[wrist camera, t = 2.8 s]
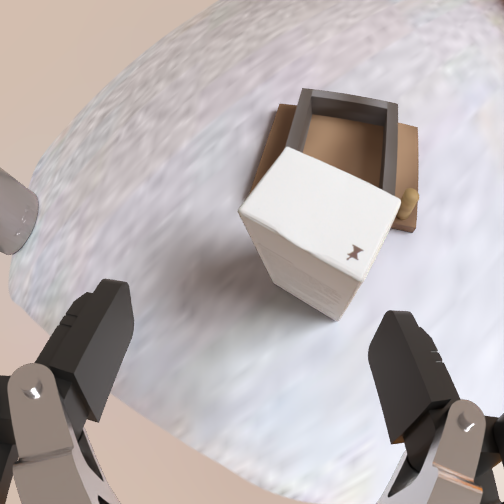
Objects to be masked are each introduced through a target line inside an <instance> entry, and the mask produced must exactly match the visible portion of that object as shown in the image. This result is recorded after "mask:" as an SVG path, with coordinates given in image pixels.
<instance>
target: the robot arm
mask: <svg viewBox="0 0 504 504" xmlns="http://www.w3.org/2000/svg"><path fill="white" fill-rule="evenodd" d="M37 214H38V199H37V196H36V195H35V194H34V193H33V192H32V191H30V190H29V189H28V188H26V187H25V186H24V185H22V184H21V183H20V182H18V181H17V180H16V179H15V178H13V177H12V176H10V175H9V174H8V173H7V172H5V171H4V170H3V169H1V168H0V252H2V253H4V254H6V255H11V254H14V253H15V252H17V251H18V250H19V249H20V248H21V247H22V246H23V245H24V243H25V242H26V241H27V239H28V237H29V236H30V234H31V232H32V229H33V227H34V224H35V222H36V218H37ZM133 330H134V317H133V311H132V304H131V297H130V289H129V285H128V283H127V282H123V281H117V280H111V279H103V280H102V281H101V282H100V283H99V285H98V286H97V288H96V289H95V291H94V292H93V293H89V292H86V293H85V294H84V295H82V296H81V297H79V298H78V299H77V300H75V301H74V302H73V304H72V305H71V307H70V308H69V310H68V311H67V313H66V316H64V317H63V319H62V320H61V322H60V325H59V326H57V328H56V329H55V331H54V332H53V334H52V336H51V337H50V339H49V340H48V342H47V343H46V345H45V347H44V349H43V350H42V352H41V353H40V355H39V357H38V358H37V360H36V361H35V363H30V364H26V365H23V366H21V367H20V368H18V369H17V370H16V371H15V372H14V373H13V374H12V375H11V376H0V504H5V502H6V498H7V494H8V490H9V487H10V483H11V480H12V476H13V475H14V480H15V483H16V487H17V490H18V494H19V497H20V500H21V503H22V504H121V503H120V501H119V500H118V498H117V496H116V495H115V494H114V492H113V490H112V489H111V487H110V486H109V484H108V482H107V480H106V478H105V476H104V474H103V471H102V469H101V467H100V465H99V462H98V460H97V458H96V455H95V453H94V450H93V448H92V445H91V443H90V440H89V438H88V435H87V433H86V430H85V428H84V424H85V422H86V419H88V420H92V421H95V422H99V421H100V418H101V415H102V412H103V410H104V407H105V404H106V401H107V399H108V396H109V394H110V391H111V388H112V386H113V383H114V381H115V378H116V375H117V373H118V370H119V368H120V365H121V363H122V361H123V358H124V356H125V353H126V351H127V348H128V346H129V344H130V341H131V339H132V335H133ZM437 351H438V350H437V348H436V346H435V344H434V342H433V340H432V338H431V337H430V336H429V335H428V334H427V333H426V332H425V331H424V330H423V329H422V328H421V327H419V326H418V324H417V322H416V320H415V318H414V317H413V315H412V313H411V312H408V311H392V310H389V311H387V312H386V313H385V315H384V317H383V319H382V321H381V323H380V325H379V327H378V329H377V331H376V333H375V335H374V337H373V339H372V341H371V343H370V346H369V351H368V360H369V364H370V368H371V371H372V375H373V378H374V381H375V385H376V389H377V392H378V396H379V399H380V403H381V407H382V410H383V414H384V418H385V422H386V426H387V430H388V434H389V438H390V442H391V444H398V443H405V447H406V451H405V452H404V453H403V455H402V457H401V459H400V461H399V463H398V465H397V467H396V469H395V471H394V473H393V475H392V477H391V479H390V481H389V483H388V485H387V487H386V488H385V490H384V492H383V494H382V496H381V497H380V499H379V500H378V502H377V503H376V504H504V502H501V501H500V499H499V496H498V491H497V487H496V483H495V479H494V475H493V471H492V468H493V467H494V466H496V465H497V464H498V463H500V462H501V461H502V463H503V466H504V413H503V414H502V415H501V416H500V417H499V418H497V417H490V416H484V414H483V412H482V411H481V409H480V408H479V407H478V406H477V405H476V404H475V403H473V402H471V401H469V400H461V399H460V397H459V395H458V393H457V391H456V388H455V386H454V384H453V382H452V379H451V377H450V375H449V373H448V371H447V369H446V366H445V364H444V363H442V358H441V356H440V354H439V353H437ZM18 457H19V460H18ZM17 460H18V461H17Z"/></svg>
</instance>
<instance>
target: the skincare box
mask: <svg viewBox="0 0 504 504" xmlns="http://www.w3.org/2000/svg"><path fill="white" fill-rule="evenodd" d="M400 205H401V200H400V199H399V198H397V197H395V196H393V195H391V194H389V193H387V192H385V191H383V190H382V189H380V188H378V187H376V186H374V185H372V184H370V183H368V182H366V181H364V180H361V179H359V178H357V177H355V176H353V175H351V174H349V173H347V172H344V171H342V170H340V169H338V168H336V167H333V166H331V165H329V164H327V163H324V162H322V161H320V160H318V159H315V158H313V157H311V156H308V155H306V154H304V153H301V152H299V151H297V150H294V149H292V148H290V147H286V148H285V149H284V150H283V152H282V153H281V155H280V156H279V157H278V158H277V160H276V161H275V162H274V163H273V165H272V166H271V167H270V168H269V170H268V171H267V172H266V174H265V175H264V176H263V177H262V179H261V180H260V181H259V183H258V184H257V185H256V187H255V188H254V189H253V190H252V192H251V193H250V194H249V196H248V197H247V198H246V200H245V201H244V202H243V204H242V205H241V206H240V207H239V209H238V213H239V215H240V217H241V219H242V221H243V223H244V225H245V227H246V229H247V231H248V233H249V235H250V237H251V239H252V241H253V243H254V245H255V247H256V249H257V251H258V253H259V255H260V257H261V259H262V261H263V263H264V265H265V267H266V269H267V271H268V273H269V275H270V278H271V280H272V282H273V283H274V284H276V285H277V286H279V287H281V288H282V289H284V290H285V291H287V292H289V293H290V294H292V295H294V296H295V297H297V298H299V299H300V300H302V301H303V302H305V303H307V304H308V305H310V306H312V307H313V308H315V309H317V310H318V311H320V312H322V313H323V314H325V315H327V316H328V317H330V318H332V319H333V320H335V321H337V322H338V321H339V320H340V318H341V317H342V315H343V314H344V312H345V311H346V309H347V307H348V306H349V304H350V302H351V301H352V299H353V298H354V296H355V294H356V292H357V291H358V289H359V287H360V286H361V284H362V283H363V282H364V280H365V278H366V276H367V274H368V272H369V270H370V268H371V266H372V264H373V263H374V261H375V259H376V257H377V255H378V253H379V251H380V249H381V247H382V245H383V242H384V240H385V238H386V236H387V234H388V232H389V230H390V228H391V226H392V223H393V221H394V219H395V217H396V215H397V212H398V210H399V208H400Z"/></svg>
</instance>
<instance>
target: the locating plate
mask: <svg viewBox="0 0 504 504" xmlns="http://www.w3.org/2000/svg"><path fill="white" fill-rule="evenodd" d="M286 147H290V148H292V149H294V150H297V151H299V152H301V153H304V154H306V155H308V156H311V157H313V158H315V159H318V160H320V161H322V162H324V163H327V164H329V165H331V166H333V167H336V168H338V169H340V170H342V171H344V172H347V173H349V174H351V175H353V176H355V177H357V178H359V179H361V180H364V181H366V182H368V183H370V184H372V185H374V186H376V187H378V188H380V189H382V190H383V191H385V192H387V193H389V194H391V195H393V196H395V197H397V198H399V199H400V200H401V205H400V208H399V210H398V212H397V215H396V217H395V219H394V221H393V223H392V226H391V228H394V229H399V230H403V231H407V232H412V233H413V231H414V230H415V229H416V220H417V203H418V200H419V194H418V127H414V126H410V125H406V124H402V123H398V104H396V103H391V102H387V101H382V100H377V99H372V98H367V97H361V96H355V95H349V94H343V93H336V92H329V91H322V90H314V89H305V88H302V91H301V95H300V98H299V102H298V105H287V104H279V107H278V110H277V113H276V116H275V119H274V122H273V125H272V128H271V131H270V133H269V136H268V139H267V142H266V145H265V148H264V151H263V154H262V157H261V160H260V163H259V166H258V169H257V172H256V175H255V178H254V181H253V184H252V187H251V190H250V193H251V192H252V190H253V189H254V188H255V187H256V185H257V184H258V183H259V181H260V180H261V179H262V177H263V176H264V175H265V174H266V172H267V171H268V170H269V168H270V167H271V166H272V165H273V163H274V162H275V161H276V160H277V158H278V157H279V156H280V155H281V153H282V152H283V150H284V149H285V148H286ZM250 193H249V194H250Z"/></svg>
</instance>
